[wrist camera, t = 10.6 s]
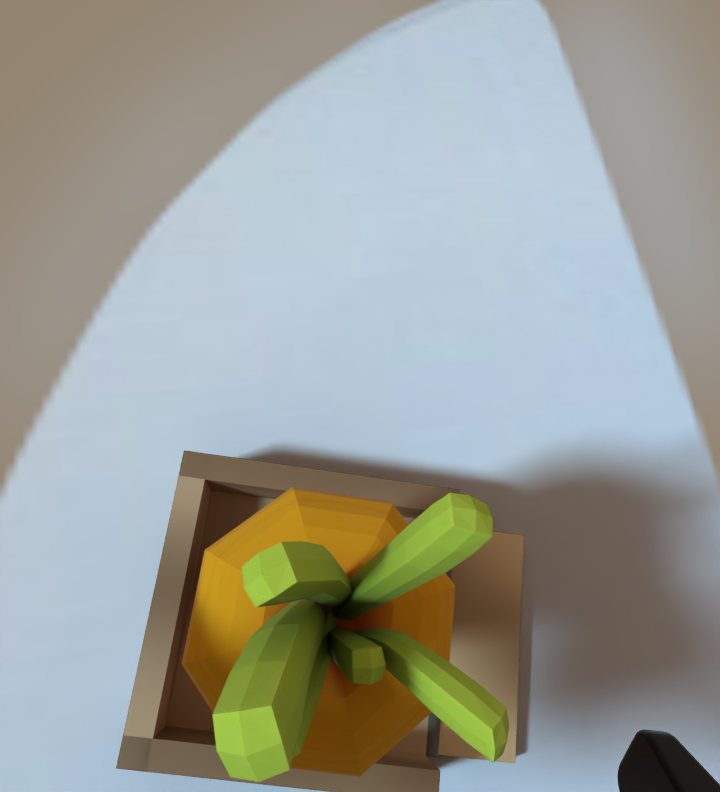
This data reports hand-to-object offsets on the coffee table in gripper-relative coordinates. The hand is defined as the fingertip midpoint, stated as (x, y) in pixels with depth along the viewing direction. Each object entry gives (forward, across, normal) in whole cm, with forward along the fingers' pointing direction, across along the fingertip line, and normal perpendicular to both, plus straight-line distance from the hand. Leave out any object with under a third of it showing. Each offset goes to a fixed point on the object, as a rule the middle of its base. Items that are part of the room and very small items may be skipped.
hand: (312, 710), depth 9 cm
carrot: (+10, 0, +8) cm, 13 cm away
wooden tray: (+10, -1, +9) cm, 14 cm away
